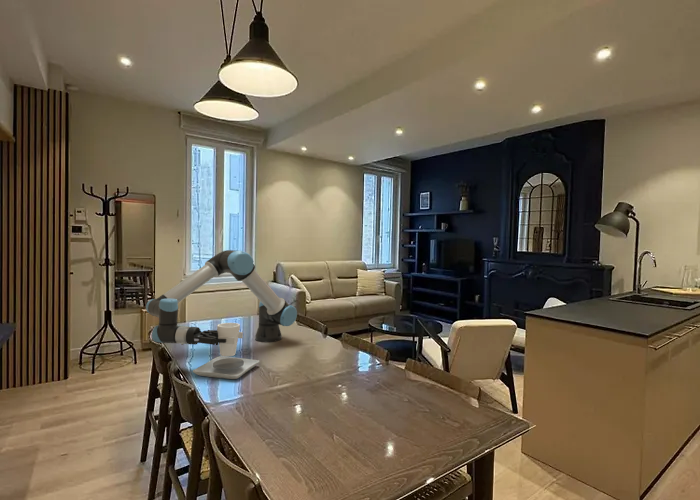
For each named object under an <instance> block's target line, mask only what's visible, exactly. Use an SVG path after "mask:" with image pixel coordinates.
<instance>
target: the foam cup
mask: <svg viewBox="0 0 700 500" xmlns="http://www.w3.org/2000/svg"><path fill="white" fill-rule="evenodd" d="M216 328H217V329H216V330H217V331H218V339H219V337H235V341H234V344H220V343H218V345H219V353H220V355H219V356H223V357H234V356H235V355H236V352H237V348H238V340H239V338H238V335H239V332H240V329H241V324H240V323H237V322H223V323H222V322H221V323H219V324H217V326H216Z"/></svg>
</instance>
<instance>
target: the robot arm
mask: <svg viewBox="0 0 700 500" xmlns="http://www.w3.org/2000/svg"><path fill="white" fill-rule="evenodd" d="M226 273H227V274H231V275H232V277H233V278H234V279H235V280H236V281H238V282H242V283H243V284H244V286H246V287H247V289H249V290H250V292H251V293H252V294H253V295H254V296H255V297H256V298H257V299H258V300H259V303H258V328H257V330H256V332H255V337H254V339H255V341H256V342H262V343H272V342H278V341H281V340H282V332H281V329H280V326H282V327H290V326H292V325H293V324H294V323H295V321H296V320H297V316H298V311H297V308H296V307H295V306H294V305H291V304H289V303H288V302H287V301H286V299H284V298H283V297H279V296H278V295H277V294H276V292H275V291H274V290H273V289H272V288H271V287H270V286H269V285H268V283H267V282H266V281H265V280H264V278H262V277H261V275H260V274H259V273H258V272H257V271H256V265H255V263H254V258H253V257H252V255H251V254H250V253H248V252H246V251H243V250H231V249H230V250H229V249H228V250H223V251H222V250H221V251H220V252H219V253H217V254H215V255H214V256H212V257H211V258H209V259H208V260H206V261H205V262H204V265H203V266H201V267H200V268H199V269H197V270H196V271H194V272H193V273H191V274H190V275H189V276H186V278H184V279H183V280H182V281H180V282H179V283H178V284H175V285H174V286H172V288H170V289H168V290H167V291H166V292H164V293H163V294H161V295H160V296H158V297H157V298H152V299H150V300H148V301H147V303H146V304H145V310H146V312H147V313H149V314H150V315H151V316H152V317H157V318H158V324H157V325H155V326H154V328H153V329H152V332H151V337H152V340H153V341H154V342H156V343H162V344H178V345H179V344H181V346H184V345H187V344H188V345H198V344H205V345H212V346H218V345H219V343H220V344H234V341H235V337H219V339H218V331H217V329H216V330H215V329H207V330H203V331H201V328H200V327H197V326H183V325H182V326H180V325H179V326H178V312H179V305H178V304H179V303H181V302H182V301H183V300H184V299H186V298H187V297H188V296H190V295H191V294H193V293H194V292H195V291H197V290H198V289H200V288H201V287H202V286H204V285H205V284H206V283H208V282H209V281H211V280H212V279H213V278H218V277H219V276H221V275H223V274H226ZM243 334H244V332H243V331H239V335H238V339H243V337H244V335H243Z"/></svg>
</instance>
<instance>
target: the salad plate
mask: <svg viewBox="0 0 700 500" xmlns="http://www.w3.org/2000/svg"><path fill="white" fill-rule="evenodd" d="M226 358H235V357H234V356H228V357H225V356H221V355H219V356H216V357H215V358H213V359H211V360H209V361H207V362H206V363H204V364H202V365H200V366H198V367H197V368H195V369H193V370H192V372H193V373H194V374H195V375H197V376H200V377H201V376H202V377H209V378H216V379H217V378H218V379H225V380H226V379H227V380H237V379H239V378H241V377H242V376H243V375H244V374H246V373H247V372H249V371H251V369H253V368H254V367H256V366H257V365H258V364H259V362H260V360H259V359H258V360H257V359H251V358H241V357H236V358H237V359H241V360H243V361H244V365H243V366H241V367H239V368H236V369H230V370H220V369H216V368H214V367H213V363H214V362H215V361H217V360H221V359H226Z"/></svg>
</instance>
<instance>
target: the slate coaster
mask: <svg viewBox="0 0 700 500" xmlns="http://www.w3.org/2000/svg"><path fill="white" fill-rule="evenodd" d="M237 358H238V357H234V358H226V359H221V360H217V361H215V362H214V363H213V367H214V368H216V369H220V370H230V369H236V368H239V367H241V366H243V365H244V361H243V360H241V359H237Z"/></svg>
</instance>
